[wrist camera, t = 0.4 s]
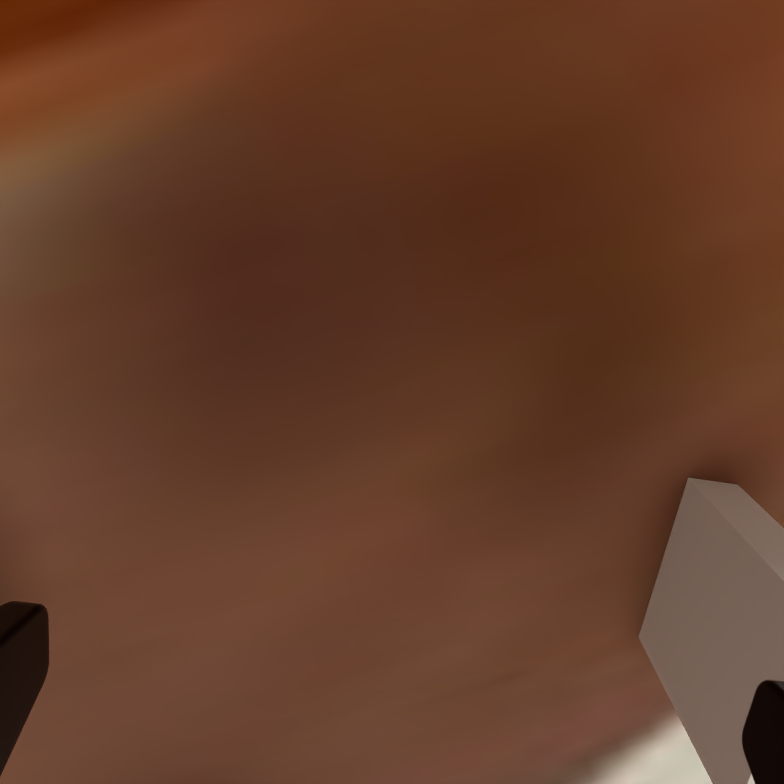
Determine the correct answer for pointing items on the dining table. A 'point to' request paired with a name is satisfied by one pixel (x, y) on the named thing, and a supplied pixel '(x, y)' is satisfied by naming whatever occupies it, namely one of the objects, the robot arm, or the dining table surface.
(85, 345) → the dining table surface
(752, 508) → the tile
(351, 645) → the dining table surface
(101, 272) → the dining table surface
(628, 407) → the dining table surface
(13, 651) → the robot arm
